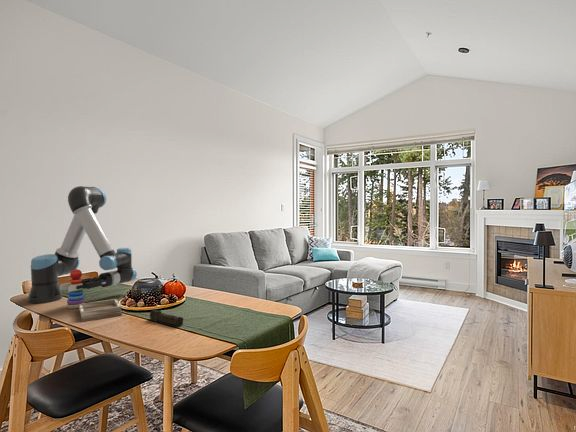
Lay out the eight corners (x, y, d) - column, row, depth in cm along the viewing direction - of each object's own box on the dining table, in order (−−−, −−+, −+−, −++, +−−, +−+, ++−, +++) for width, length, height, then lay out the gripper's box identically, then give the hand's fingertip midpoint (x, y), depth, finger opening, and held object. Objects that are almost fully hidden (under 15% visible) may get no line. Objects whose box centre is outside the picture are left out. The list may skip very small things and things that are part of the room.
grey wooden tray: (79, 310, 172) (78, 302, 171) (115, 304, 180) (115, 297, 180) (81, 321, 155) (81, 313, 155) (121, 315, 164) (121, 307, 163)
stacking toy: (76, 309, 172) (75, 271, 171) (62, 308, 174) (61, 270, 173) (88, 305, 180) (87, 268, 179) (75, 304, 181) (74, 267, 181)
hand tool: (184, 325, 151) (183, 314, 150) (176, 328, 147) (176, 317, 147) (155, 317, 161) (155, 307, 161) (148, 320, 158) (147, 309, 157)
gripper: (120, 287, 188) (76, 298, 167) (98, 283, 197) (54, 293, 177) (120, 273, 187) (76, 282, 167) (97, 270, 197) (53, 278, 176)
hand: (64, 288), depth 172 cm, fingers closed on stacking toy, 6 cm apart
